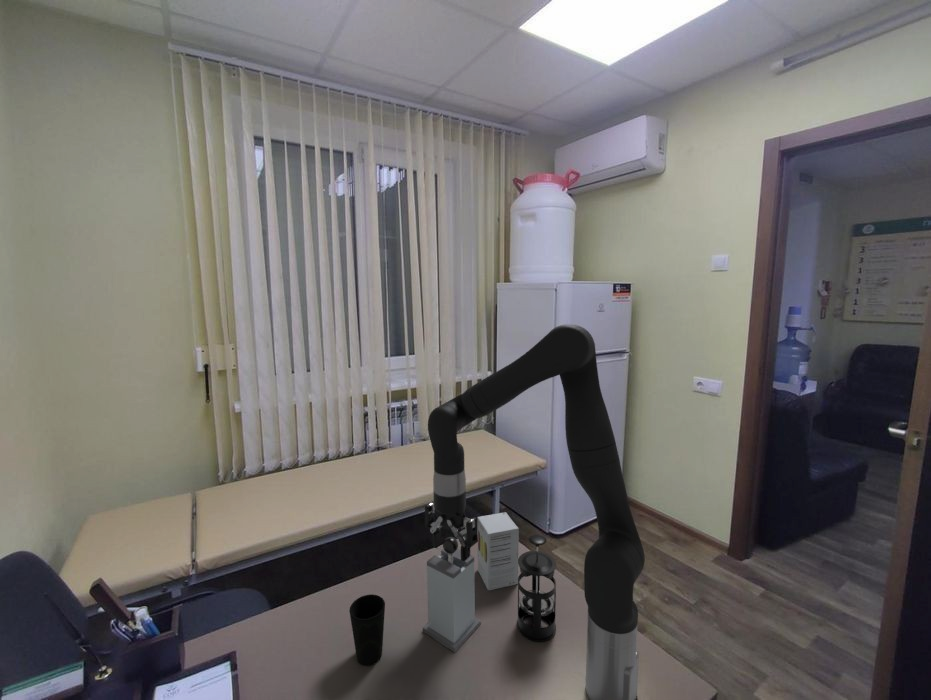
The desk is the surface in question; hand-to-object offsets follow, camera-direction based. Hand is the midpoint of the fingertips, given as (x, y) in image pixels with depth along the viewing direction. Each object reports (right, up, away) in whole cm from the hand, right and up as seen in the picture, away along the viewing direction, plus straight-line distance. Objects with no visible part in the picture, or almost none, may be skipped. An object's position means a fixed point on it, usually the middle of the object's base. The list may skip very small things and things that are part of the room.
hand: (450, 552), depth 97 cm
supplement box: (+13, -17, +20) cm, 30 cm away
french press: (+21, -19, +3) cm, 29 cm away
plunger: (0, -13, +2) cm, 13 cm away
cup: (-18, -21, -5) cm, 28 cm away
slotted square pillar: (0, -19, +2) cm, 20 cm away
